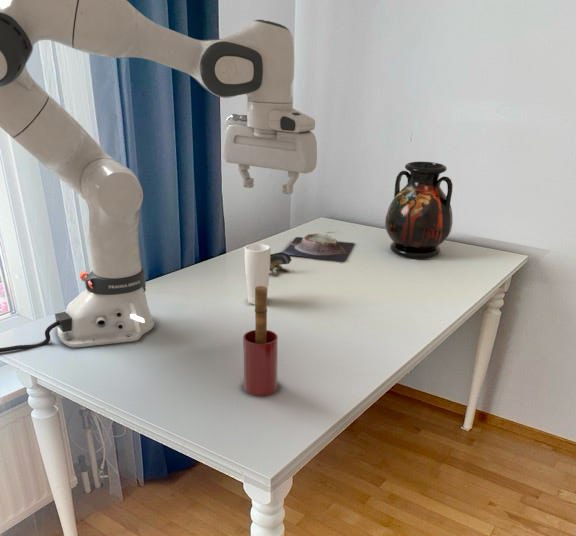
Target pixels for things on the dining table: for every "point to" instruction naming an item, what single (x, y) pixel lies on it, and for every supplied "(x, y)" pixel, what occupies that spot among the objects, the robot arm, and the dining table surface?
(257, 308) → the tan rod with ring
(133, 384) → the dining table surface
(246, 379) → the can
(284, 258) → the eagle figurine
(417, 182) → the amphora vase
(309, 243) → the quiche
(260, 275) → the drinking glass
